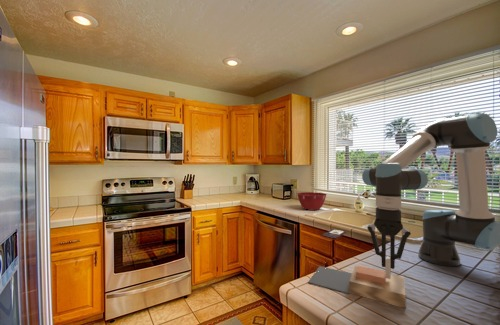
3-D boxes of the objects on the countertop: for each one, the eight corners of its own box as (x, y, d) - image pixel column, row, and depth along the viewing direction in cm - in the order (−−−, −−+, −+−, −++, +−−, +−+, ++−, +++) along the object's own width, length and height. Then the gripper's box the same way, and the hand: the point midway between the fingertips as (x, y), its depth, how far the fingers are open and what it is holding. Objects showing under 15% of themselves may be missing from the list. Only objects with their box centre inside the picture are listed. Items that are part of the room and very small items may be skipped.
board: (403, 287, 83) (403, 276, 83) (405, 308, 71) (405, 295, 71) (354, 276, 91) (354, 266, 91) (349, 292, 79) (349, 281, 79)
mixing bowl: (291, 209, 230) (291, 193, 230) (305, 205, 252) (305, 191, 252) (319, 213, 212) (319, 196, 212) (330, 208, 233) (330, 193, 233)
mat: (355, 275, 92) (355, 274, 92) (348, 294, 79) (348, 293, 79) (319, 266, 100) (319, 266, 100) (308, 283, 86) (308, 281, 86)
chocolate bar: (321, 235, 144) (332, 229, 157) (321, 236, 144) (332, 230, 157) (335, 238, 138) (346, 231, 151) (335, 239, 138) (346, 233, 151)
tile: (385, 277, 83) (385, 271, 83) (385, 284, 77) (385, 278, 77) (357, 270, 87) (357, 265, 87) (355, 277, 82) (355, 271, 82)
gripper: (366, 207, 80) (365, 276, 80) (412, 211, 73) (412, 287, 73) (367, 204, 86) (367, 268, 86) (410, 208, 80) (410, 277, 79)
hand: (388, 276), depth 79 cm, fingers closed
